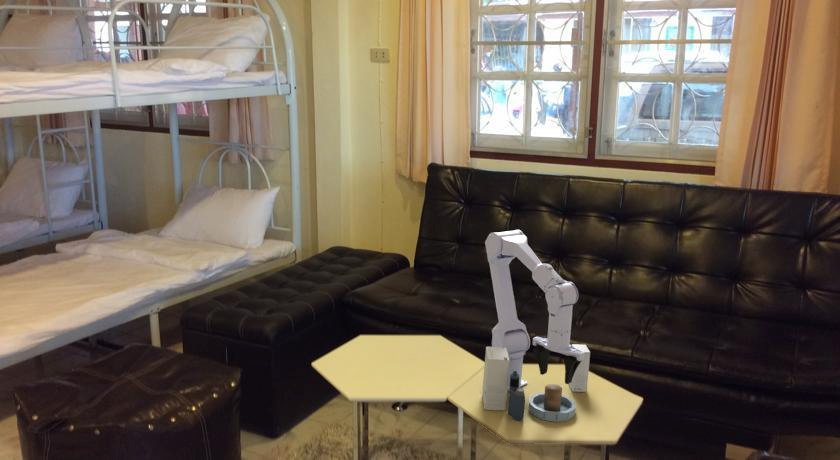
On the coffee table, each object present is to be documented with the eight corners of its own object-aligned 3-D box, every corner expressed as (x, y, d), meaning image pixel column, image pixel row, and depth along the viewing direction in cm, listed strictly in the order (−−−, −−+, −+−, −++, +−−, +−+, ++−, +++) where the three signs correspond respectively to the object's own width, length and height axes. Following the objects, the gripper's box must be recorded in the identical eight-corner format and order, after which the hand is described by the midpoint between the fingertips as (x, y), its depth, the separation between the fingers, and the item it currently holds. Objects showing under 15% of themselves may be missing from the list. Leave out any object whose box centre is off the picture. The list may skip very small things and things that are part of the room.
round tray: (519, 410, 188) (520, 401, 187) (545, 396, 196) (546, 388, 196) (558, 426, 180) (559, 418, 179) (583, 411, 188) (584, 403, 188)
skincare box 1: (481, 396, 195) (484, 345, 192) (503, 397, 195) (506, 346, 192) (484, 410, 187) (486, 358, 184) (507, 411, 187) (510, 358, 184)
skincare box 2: (587, 392, 200) (590, 352, 197) (571, 392, 200) (575, 352, 197) (582, 383, 205) (586, 344, 203) (568, 382, 206) (571, 343, 203)
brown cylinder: (540, 408, 188) (541, 387, 187) (550, 403, 191) (551, 382, 190) (553, 414, 185) (555, 393, 184) (563, 409, 188) (565, 388, 187)
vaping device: (513, 411, 187) (516, 369, 184) (525, 420, 183) (528, 377, 180) (505, 413, 186) (508, 370, 183) (517, 422, 181) (519, 378, 179)
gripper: (592, 332, 181) (588, 382, 184) (544, 318, 191) (541, 365, 194) (577, 339, 176) (573, 390, 179) (529, 324, 186) (526, 372, 189)
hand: (555, 378), depth 186 cm, fingers open, 7 cm apart
